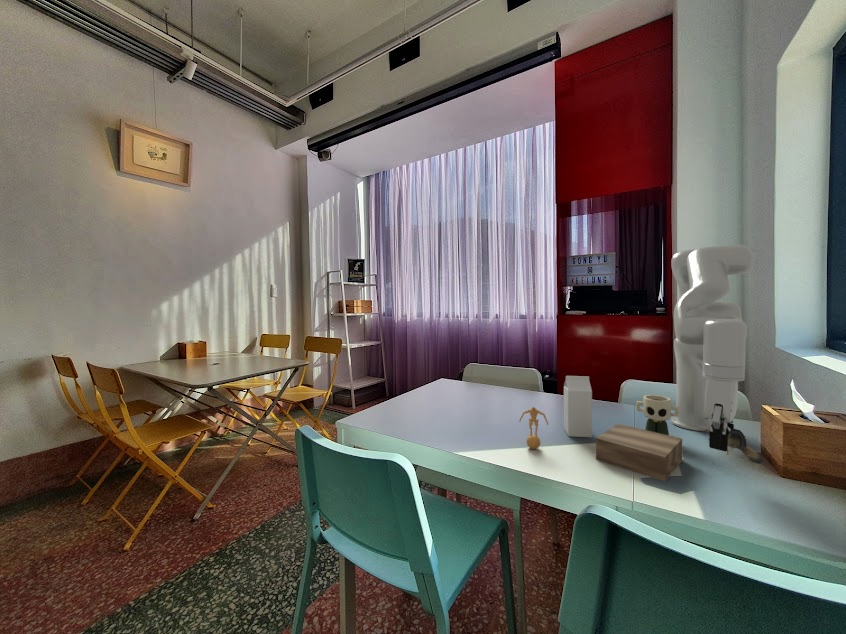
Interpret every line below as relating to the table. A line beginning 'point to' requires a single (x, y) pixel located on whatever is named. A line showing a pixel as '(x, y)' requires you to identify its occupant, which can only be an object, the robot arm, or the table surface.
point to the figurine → (533, 439)
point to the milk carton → (578, 406)
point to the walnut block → (640, 451)
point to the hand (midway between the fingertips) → (721, 443)
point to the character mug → (657, 412)
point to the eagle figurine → (741, 445)
